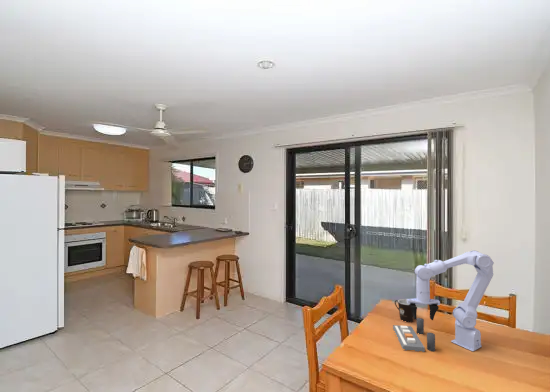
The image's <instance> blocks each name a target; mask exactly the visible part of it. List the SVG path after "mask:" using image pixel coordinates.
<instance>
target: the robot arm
mask: <svg viewBox="0 0 550 392" xmlns="http://www.w3.org/2000/svg"><path fill="white" fill-rule="evenodd" d="M465 264H466V265H470V266H473V267H474V269H475V270H476V272H477V274H475V275H476V276H475V278H474V280H473V282H472V283H471V286H470V287H469V290H468V292H467V293H466V295H465V298H464V300H463V302H460V303H458V305H457V306H456V307H455V308H454V309H453V310H452V316H453V317H454V318H455V321H454V330H455V332H454V334H455V335H454V337H455V338H454V339H452V340H450V342H451V343H453V344H455V345H457V346H459V347H462V348H464V349H466V350H469V351H471V352H474V351H477V350H478V349H480V348H482V341H481V340H482V337H481V336H482V333H481V331H480V330H479V329H477V328H476V327H475V326H476V325H477V318H478V312H477V309H478V306H479V304H480V303H481V301H482V299H483V296H484V295H485V292H486V291H487V289H488V287H489V284H490V282H492V281H491V280H492V279H493V276H494V267H493V266H494V264H495V263H494V261H493V259H492V258H491V256H489V255H488V254H485V253H482V252H480V251H478V250H470V251H465V252H463V253H462V254H459V255H457V256H454V257H451V258H449V259H446V260H444V261H443V260H441V259H434V260H433V262H430V263H424V265H421V264H419V265H417V266H416V267H415V269H414V274H415V275H416V279H415V280H416V281H415V283H416V285H415V288H416V289H415V291H416V292H415V294H416V295H415V296H416V297H414V298H406V299H407V304H409V306H410V308H411V310H412V313H413V320H416V321H417V318H418V317H417V316H418V315H417V313H418V312H417V310H418V306H417V305H428V306H429V319H430V320H431V321H434V318H435V315H436V313H437V312H438V310H439V306H441V301H440V300H439V299H433V298H431V291H430V289H431V288H430V286H431V283H430V280H431V278H432V277H434V276H437V275H439V274H442V273H446V271H447V270H448V269H450V268H453V267H457V266H461V265H465Z"/></svg>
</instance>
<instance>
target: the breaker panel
mask: <svg viewBox="0 0 550 392" xmlns="http://www.w3.org/2000/svg"><path fill="white" fill-rule="evenodd" d="M393 329H394V330H393ZM392 330H393V331H395V332H394V333H396V334H395V336H396V335H397V336H396V338H397V337H398V338H397V339H398V342H399V344H400V346H401V348H402V350H403V349H405V350H404V351H407V350H415V351H414V352H419V351H422V352H423V353H425V351H426V350H425V349H426V348H425V346H424V344H423V343H422V341H421V339H420V338H419V337H418V334H417V332H415V330H414V328H413V327H412V326H411V325H399V324H398V325H395V324H393V325H392Z"/></svg>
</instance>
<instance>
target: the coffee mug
mask: <svg viewBox="0 0 550 392" xmlns="http://www.w3.org/2000/svg"><path fill="white" fill-rule="evenodd" d="M407 299H408V298H402V299H396V300H394V305H395V307H396V308H397V309H398V311H399V319H400V320H401V321H402V320H403V321H402V322H404V321H406V322H405V323H413V321H414V318H413V313H412V310H411V308H410V306H409V304H407Z"/></svg>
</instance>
